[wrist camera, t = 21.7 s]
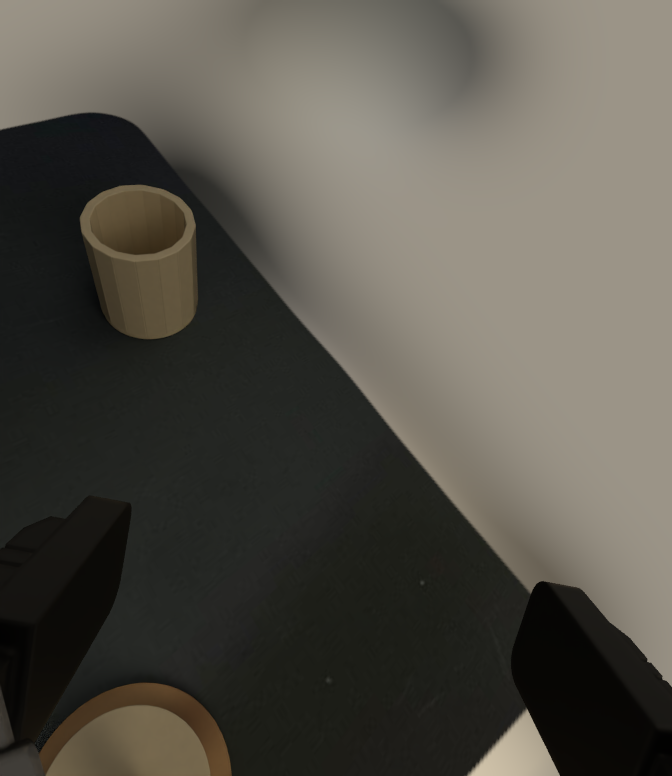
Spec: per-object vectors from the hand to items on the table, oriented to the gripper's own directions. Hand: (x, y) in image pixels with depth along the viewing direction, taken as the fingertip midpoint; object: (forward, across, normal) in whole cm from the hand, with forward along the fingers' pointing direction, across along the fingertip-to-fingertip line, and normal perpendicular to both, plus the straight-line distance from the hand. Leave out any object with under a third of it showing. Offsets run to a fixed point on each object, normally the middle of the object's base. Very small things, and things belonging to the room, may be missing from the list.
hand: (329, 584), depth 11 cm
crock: (+35, +13, 0) cm, 37 cm away
